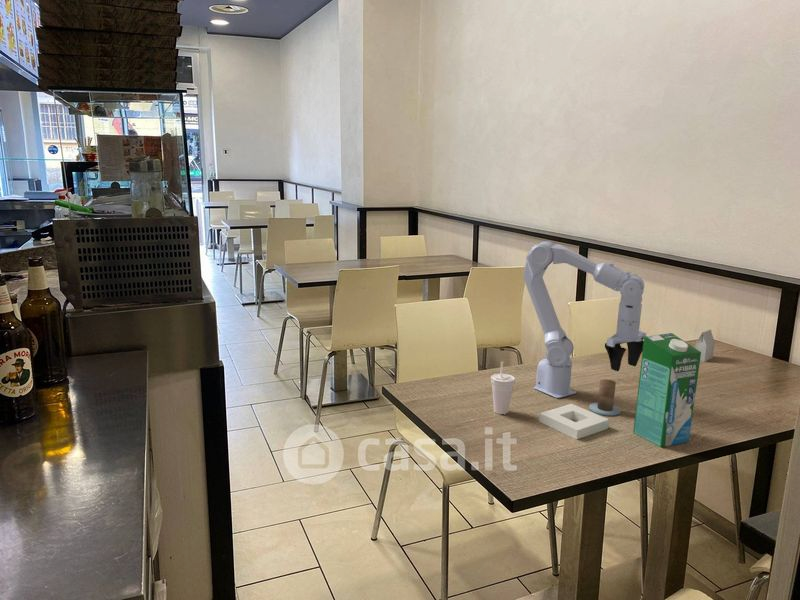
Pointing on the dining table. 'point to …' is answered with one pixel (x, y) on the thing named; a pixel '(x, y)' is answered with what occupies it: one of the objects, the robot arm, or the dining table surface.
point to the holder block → (563, 423)
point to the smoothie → (502, 391)
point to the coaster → (605, 413)
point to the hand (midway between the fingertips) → (623, 367)
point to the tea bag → (705, 345)
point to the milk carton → (666, 390)
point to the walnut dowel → (606, 395)
